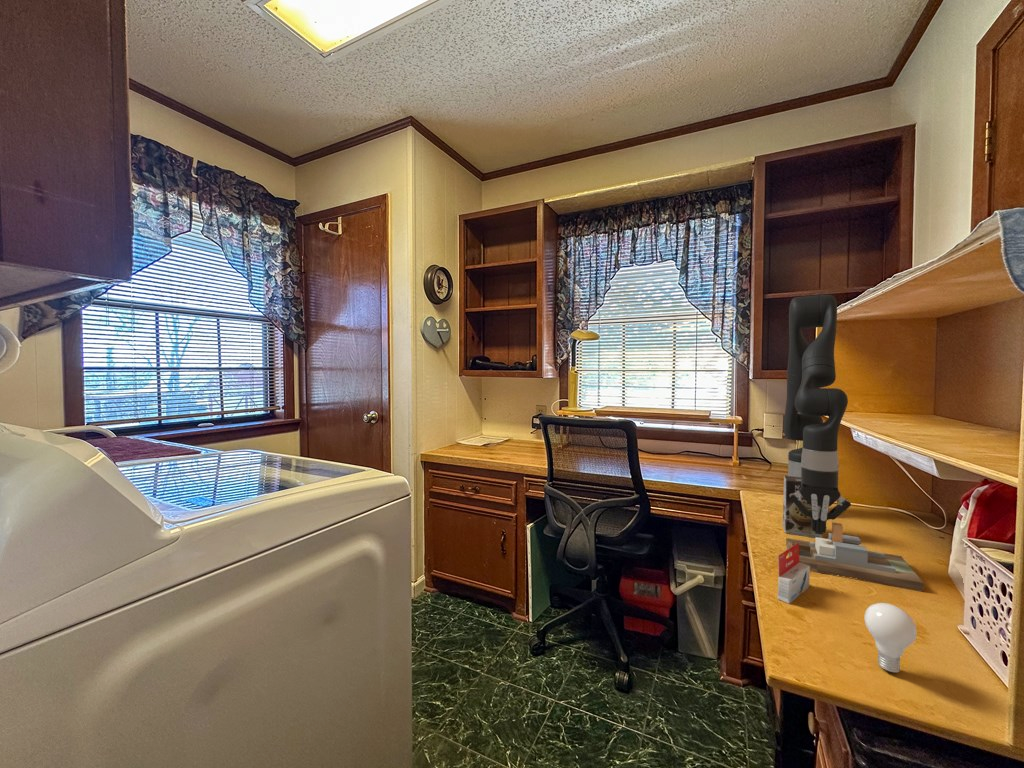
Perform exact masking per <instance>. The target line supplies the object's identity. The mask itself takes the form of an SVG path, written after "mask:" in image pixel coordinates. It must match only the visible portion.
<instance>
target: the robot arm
mask: <svg viewBox="0 0 1024 768" xmlns="http://www.w3.org/2000/svg"><path fill="white" fill-rule="evenodd" d="M788 307H789V308H788V327H789V328H788V333H789V334H788V335H789V336H788V337H789V339H788V340H789V341H788V342H789V343H788V345H789V347H788V358H787V359H788V361H787V370H786V371H787V372H786V401H785V402H786V403H785V410H784V411H785V412H784V417H783V428H782V429H783V435H784V438H785V439H788V440H789V441H799V442H801V441H802V447H800V448H796V449H791V450H789V452H788V455H787V459H788V460H787V466H788V467H787V472H788V473H787V476H793V477H801V485H800V487H799V491H797V492H795V493H790V494H789V495H790V498H791V500H792V501H793V502H794V503H795V504H796V506H797V507H798V508H799V509H800V510H801V511H802V513H803V514H804V515H805V516H809V517H811V518H812V521H811V527H812V530H813V531H815V534H820V535H822V536H823V535H824V534H826V532H827V521H830V520H833V521H834V520H835V519H837V518H838V517H839V516H840V515H842V514H843V513H844V512H845V511H846V510H848V509H849V508H850V507H852V504H851V502H850V501H849V499H847V498H844V497H843V496H842V495H841V492H840V490H839V469H840V464H839V463H840V461H839V454H838V452H839V451H838V441H839V439H838V437H839V430H840V426H841V423H842V419H843V417H844V416H845V415H844V414H845V412H846V410H847V408H848V402H849V400H848V398H849V397H848V395H847V394H846V392H845V391H844V390H842V389H841V388H834V387H832V388H831V387H830V388H829V386H832V385H833V384H834V383H835V381H836V379H837V378H836V377H837V375H836V362H835V344H836V336H837V324H838V323H837V322H838V303H837V300H836V298H835V296H834V295H832V294H819V295H816V294H815V295H814V294H813V295H802V296H796V297H793V298H792V299H791V300H790V303H789V306H788ZM808 328H809V329H812V328H822V329H821V331H820V332H819V333H818V335H817V337H815V339H814V340H813V341H812V342H811V343H810V344H809V342H808V341H807V340H806V338H805V336H804V333H803V331H802V329H808ZM823 417H827V420H825V421H824V418H823ZM801 495H802V496H803V497H804V499H805V500H806V501H807V502H808V503H809V504H810V508H811V511H809V510H808V509H807V508H806V507H805V506H804V505H803V504H802V502H801V497H800V496H801ZM835 503H836V505H835V506H833V508H832V509H830V511H829V507H831V506H832V505H833V504H835ZM818 506H820V511H819V518H818Z"/></svg>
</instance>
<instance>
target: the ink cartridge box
mask: <svg viewBox="0 0 1024 768" xmlns="http://www.w3.org/2000/svg"><path fill="white" fill-rule="evenodd" d="M789 552H791V553H792V555H791V556H790V557H789V554H788V553H789ZM787 556H788V557H787ZM777 561H778V562H777V563H778V566H777V567H778V582H777V584H778V585H777V599H778V600H779V601H781V602H784V603H785V604H791V603H792V602H793V601H794V600H796V599H797V598H798V597H799V596H800V595H801V594H802V593H804V592H805V591H806V590H808V589H809V588H810V578H811V577H810V576H811V575H810V573H811V571H810V566H809V565H806V564H803V563H800V562H799V544H798V543H796V544H795V545H793V546H792V547H790V548H789V549H787V548H786V549H785V550H784V551H783V552H782V553H780V554H778V555H777Z"/></svg>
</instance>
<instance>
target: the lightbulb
mask: <svg viewBox="0 0 1024 768" xmlns="http://www.w3.org/2000/svg"><path fill="white" fill-rule="evenodd" d="M863 618H864V624H865V626H866V629H867V630H868V631H869V633H870V635H872V638H873V639H874V642H875V647H876V649H877V664H878V665H879V667H881V668H882V669H883V670H885V671H886V672H889V673H899V672H901V671H900V669H901V657H902V656H903V654H904V652H905V649H907V648H908V647H909V646H912V644H913V643H914V642H915V641H916V639H917V636H918V631H917V626H916V624H915V621H914V620H913V619H912V617H911V616H910V615H909V613H907V612H906V611H904V610H903V609H901V607H898V606H897V605H894V604H891V603H887V602H877V603H873V604H870V605H869V606H867V608H866V610H865V612H864V617H863Z"/></svg>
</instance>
